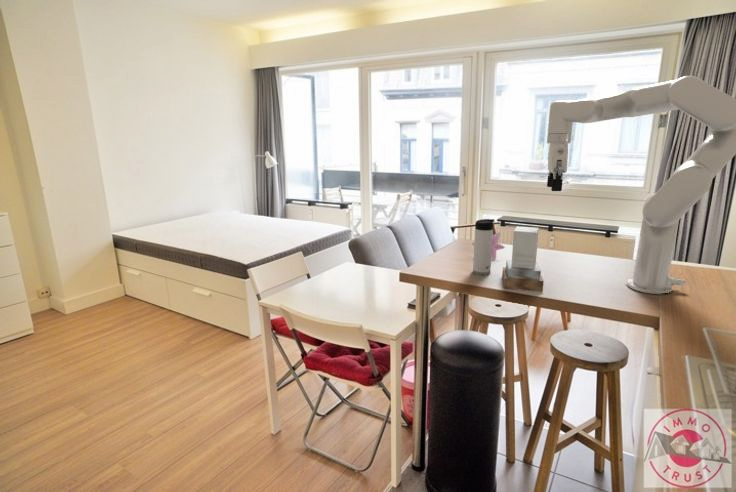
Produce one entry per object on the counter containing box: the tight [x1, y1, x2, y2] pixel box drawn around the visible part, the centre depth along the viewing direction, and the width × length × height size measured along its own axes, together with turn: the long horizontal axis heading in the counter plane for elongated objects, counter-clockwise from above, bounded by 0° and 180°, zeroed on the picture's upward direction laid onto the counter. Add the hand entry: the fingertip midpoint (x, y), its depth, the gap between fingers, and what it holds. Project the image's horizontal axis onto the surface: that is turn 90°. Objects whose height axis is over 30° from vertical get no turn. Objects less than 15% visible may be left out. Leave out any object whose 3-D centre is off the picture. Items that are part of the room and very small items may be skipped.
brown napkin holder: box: [501, 259, 544, 292], centre depth 146 cm, size 12×12×6 cm
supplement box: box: [511, 226, 540, 269], centre depth 143 cm, size 7×7×13 cm
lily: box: [471, 232, 506, 261], centre depth 176 cm, size 12×12×10 cm
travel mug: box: [472, 218, 496, 276], centre depth 155 cm, size 6×7×20 cm
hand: (553, 188), depth 151 cm, fingers open, 9 cm apart
